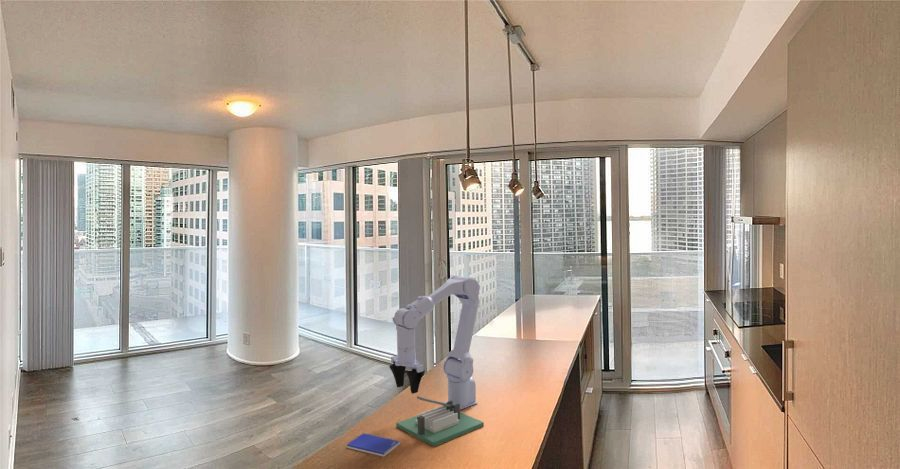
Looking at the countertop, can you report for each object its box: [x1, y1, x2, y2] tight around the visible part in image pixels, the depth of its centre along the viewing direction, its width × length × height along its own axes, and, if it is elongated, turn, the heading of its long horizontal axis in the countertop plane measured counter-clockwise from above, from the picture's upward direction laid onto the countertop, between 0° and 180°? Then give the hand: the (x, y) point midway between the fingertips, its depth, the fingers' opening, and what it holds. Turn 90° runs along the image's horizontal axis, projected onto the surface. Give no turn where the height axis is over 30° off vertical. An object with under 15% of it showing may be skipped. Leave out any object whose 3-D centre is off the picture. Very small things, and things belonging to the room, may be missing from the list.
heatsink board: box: [395, 401, 485, 447], centre depth 147 cm, size 20×18×6 cm
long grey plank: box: [416, 395, 454, 408], centre depth 146 cm, size 15×2×1 cm, turn 132°
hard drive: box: [346, 432, 401, 457], centre depth 134 cm, size 2×8×12 cm
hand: (407, 389), depth 151 cm, fingers open, 7 cm apart
